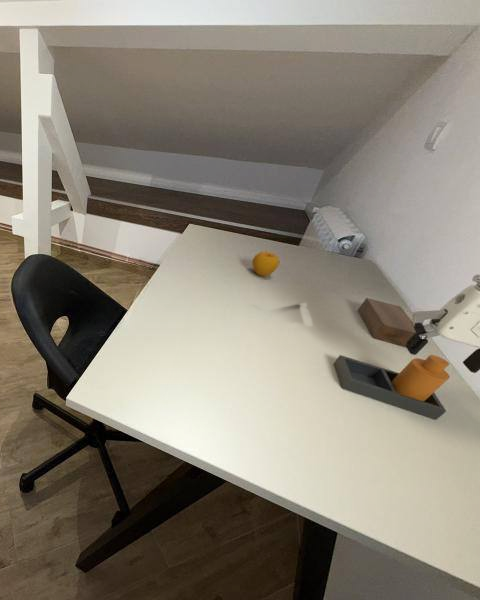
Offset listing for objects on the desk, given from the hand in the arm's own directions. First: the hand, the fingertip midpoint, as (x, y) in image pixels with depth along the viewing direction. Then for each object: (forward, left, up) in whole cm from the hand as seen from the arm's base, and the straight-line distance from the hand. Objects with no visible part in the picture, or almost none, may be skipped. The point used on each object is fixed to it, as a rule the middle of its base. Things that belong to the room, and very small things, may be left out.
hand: (438, 359), depth 64 cm
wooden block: (-6, -33, -12) cm, 36 cm away
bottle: (0, 0, -12) cm, 12 cm away
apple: (+28, -50, -13) cm, 59 cm away
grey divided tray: (+4, 0, -12) cm, 13 cm away
